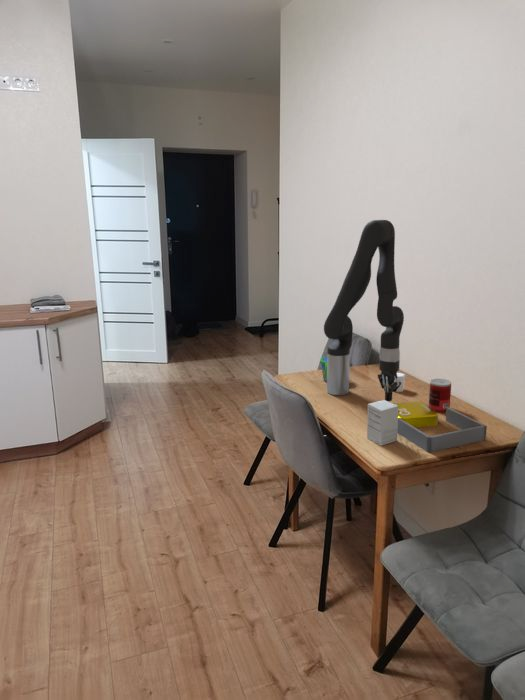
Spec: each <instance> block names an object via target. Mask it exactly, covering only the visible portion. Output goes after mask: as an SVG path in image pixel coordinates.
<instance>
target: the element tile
mask: <svg viewBox="0 0 525 700" xmlns="http://www.w3.org/2000/svg"><path fill="white" fill-rule="evenodd" d="M391 403H392V404H395V405H397V406H398V418H400V419H402V420H403V421H405V422H407V423H408V424H410V425H412V426H413V427H415V428H426V427H435V426H437V425H438V419H439V415H438V412H435V411H433V410H432V409H431V408H430V407H429V405H427V404H426V403H425V402H423V401H421V400H419V401H406V402H397V403H396V402H394V403H393V402H391Z"/></svg>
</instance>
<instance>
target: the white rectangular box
mask: <svg viewBox="0 0 525 700" xmlns="http://www.w3.org/2000/svg"><path fill="white" fill-rule="evenodd" d="M392 403H393V402H391V401H386V400H385V399H382V400H379V401H374V402H370V403H368V404H367V417H366V418H367V421H366V422H367V423H366V428H367V429H366V430H367V431H366V438H367V440H370V441H371V442H374V443H375V444H377V445H379V446H384V445H388V444H392V443H395V442H397V441H398V433H397V430H398V406H397V405H395V404H392Z"/></svg>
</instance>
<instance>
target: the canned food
mask: <svg viewBox="0 0 525 700" xmlns="http://www.w3.org/2000/svg"><path fill="white" fill-rule="evenodd" d="M451 391H452V381H450V380H449V379H445V378H433V379H431V380H430V381H429V393H428V395H429V396H428V397H429V398H428V407H430V408H431V409H432V410H433V411H435V412H436V413H446V409H447V408H448V407H449V408H451V394H452V392H451Z"/></svg>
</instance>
